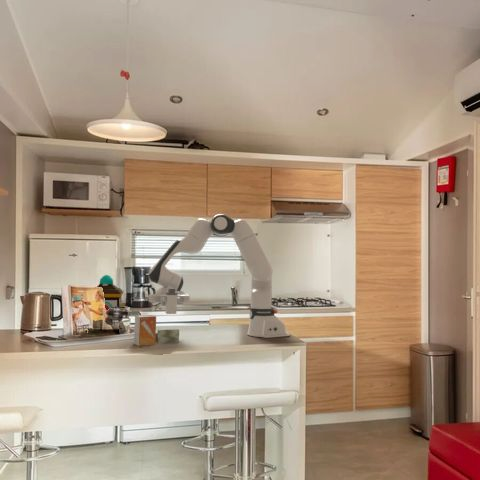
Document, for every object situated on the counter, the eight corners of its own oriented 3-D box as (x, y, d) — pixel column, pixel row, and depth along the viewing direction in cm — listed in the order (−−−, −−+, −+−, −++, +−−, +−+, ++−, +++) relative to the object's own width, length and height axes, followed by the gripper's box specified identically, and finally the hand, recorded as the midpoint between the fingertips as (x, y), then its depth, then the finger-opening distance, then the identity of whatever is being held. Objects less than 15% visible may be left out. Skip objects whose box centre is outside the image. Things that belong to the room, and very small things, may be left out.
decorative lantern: (88, 328, 246) (90, 273, 248) (125, 328, 250) (126, 274, 252) (82, 334, 227) (84, 275, 228) (122, 334, 231) (124, 275, 232)
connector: (174, 312, 219) (175, 288, 220) (176, 313, 215) (177, 288, 215) (165, 312, 218) (166, 287, 218) (166, 314, 213) (167, 288, 214)
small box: (138, 346, 200) (139, 317, 201) (133, 343, 205) (134, 315, 206) (155, 344, 204) (156, 316, 205) (150, 342, 210) (151, 314, 210)
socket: (174, 338, 220) (175, 326, 221) (178, 342, 211) (179, 329, 211) (154, 339, 217) (154, 327, 217) (157, 343, 208) (157, 330, 208)
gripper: (146, 290, 225) (150, 293, 212) (186, 291, 232) (192, 293, 219) (146, 303, 225) (149, 306, 212) (186, 303, 232) (191, 306, 219)
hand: (171, 299), depth 216 cm, fingers closed on connector, 4 cm apart
